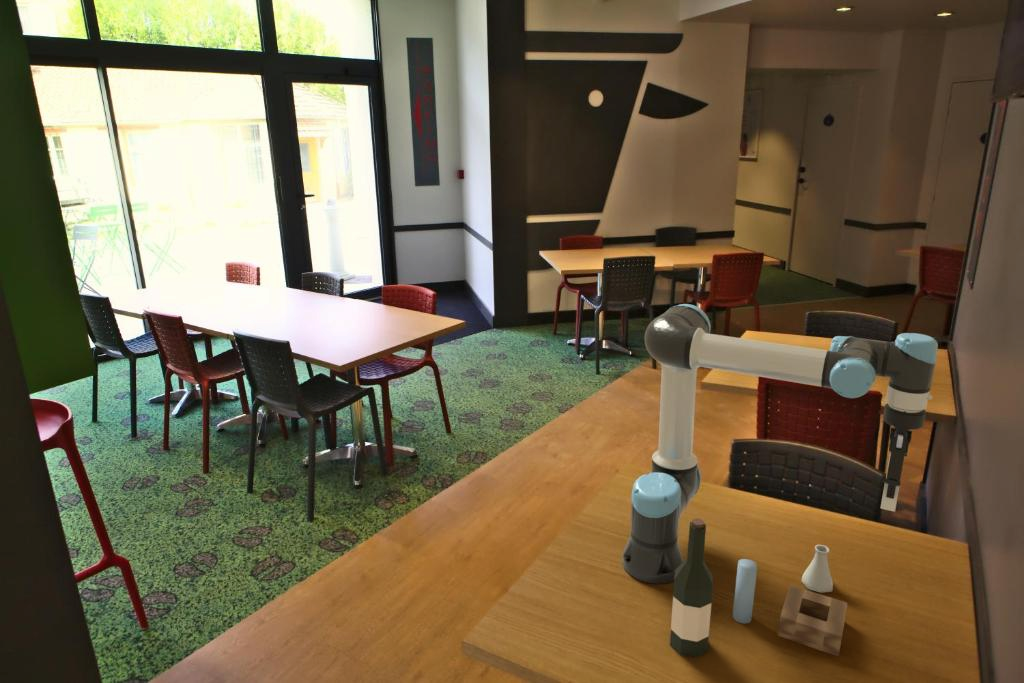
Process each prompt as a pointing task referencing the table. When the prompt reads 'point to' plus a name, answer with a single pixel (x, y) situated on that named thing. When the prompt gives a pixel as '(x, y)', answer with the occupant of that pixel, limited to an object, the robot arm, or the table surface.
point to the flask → (818, 572)
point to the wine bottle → (692, 597)
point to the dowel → (744, 590)
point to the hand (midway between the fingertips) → (889, 495)
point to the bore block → (813, 620)
